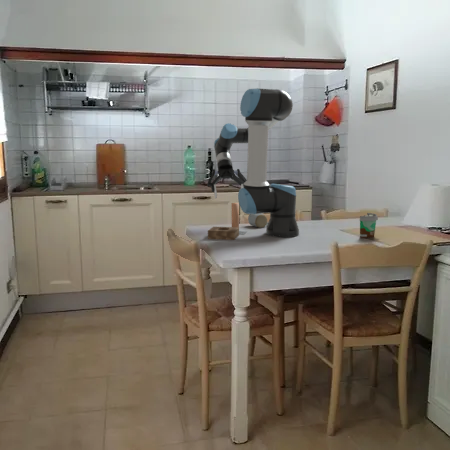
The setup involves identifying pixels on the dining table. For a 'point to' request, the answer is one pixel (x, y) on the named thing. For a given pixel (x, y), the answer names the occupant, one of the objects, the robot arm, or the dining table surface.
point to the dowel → (235, 214)
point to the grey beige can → (257, 220)
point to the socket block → (223, 233)
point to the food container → (368, 225)
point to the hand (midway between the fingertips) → (229, 196)
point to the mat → (242, 233)
